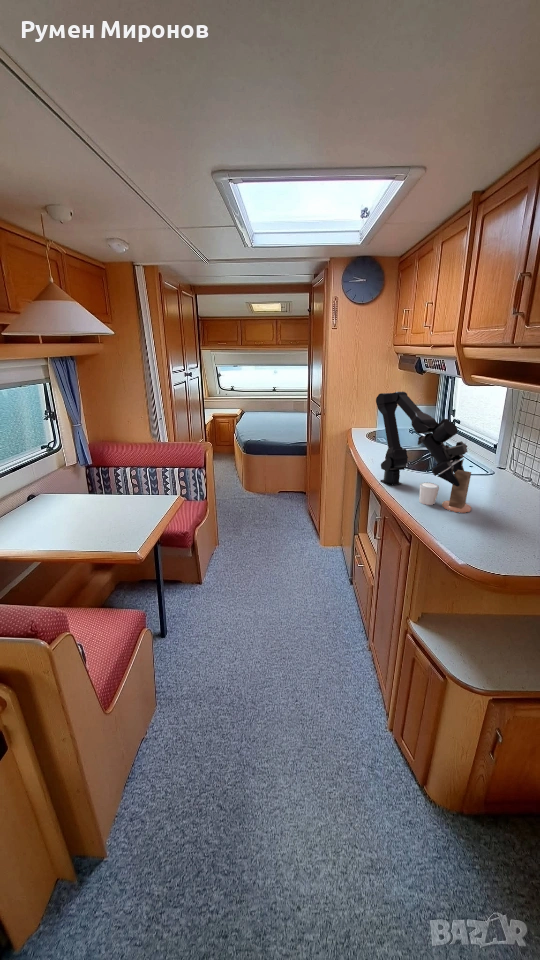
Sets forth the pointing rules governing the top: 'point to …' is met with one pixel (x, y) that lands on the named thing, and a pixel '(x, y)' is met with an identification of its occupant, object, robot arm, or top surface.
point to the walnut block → (460, 489)
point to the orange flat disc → (465, 509)
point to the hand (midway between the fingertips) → (462, 482)
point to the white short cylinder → (428, 493)
